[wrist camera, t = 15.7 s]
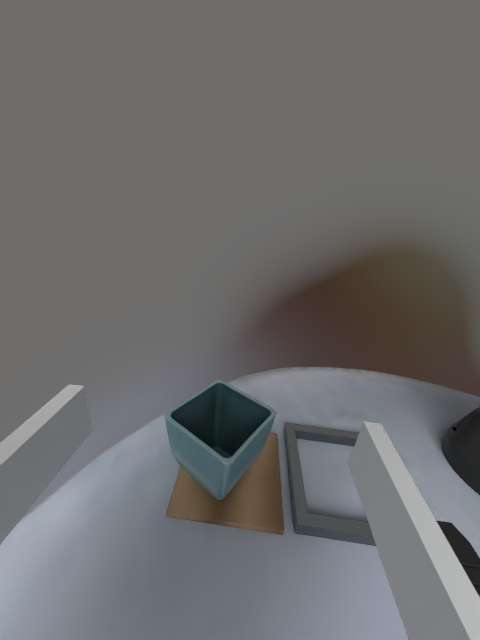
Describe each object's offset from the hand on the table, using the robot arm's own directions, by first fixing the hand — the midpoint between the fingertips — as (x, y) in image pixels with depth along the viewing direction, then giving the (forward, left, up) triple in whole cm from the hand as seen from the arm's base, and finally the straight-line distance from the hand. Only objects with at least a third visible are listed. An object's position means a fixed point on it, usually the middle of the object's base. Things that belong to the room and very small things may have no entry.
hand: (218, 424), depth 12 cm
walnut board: (-1, -12, -20) cm, 23 cm away
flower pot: (+1, -12, -19) cm, 22 cm away
